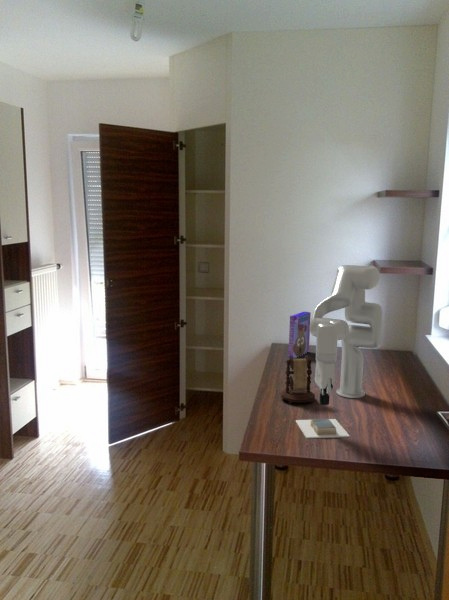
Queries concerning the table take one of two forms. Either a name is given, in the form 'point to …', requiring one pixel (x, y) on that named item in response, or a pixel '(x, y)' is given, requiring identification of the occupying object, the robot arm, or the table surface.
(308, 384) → the brown wooden ornament
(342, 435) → the rubber mat
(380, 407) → the table surface
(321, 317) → the robot arm
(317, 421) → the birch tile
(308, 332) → the cereal box
